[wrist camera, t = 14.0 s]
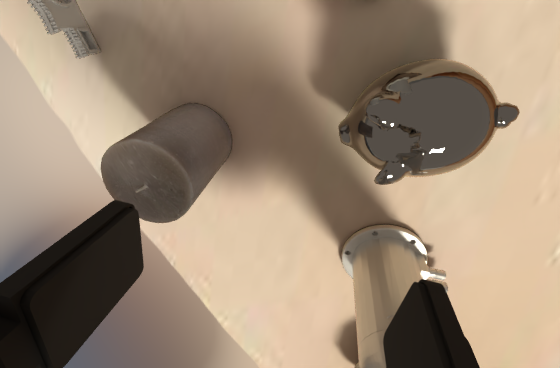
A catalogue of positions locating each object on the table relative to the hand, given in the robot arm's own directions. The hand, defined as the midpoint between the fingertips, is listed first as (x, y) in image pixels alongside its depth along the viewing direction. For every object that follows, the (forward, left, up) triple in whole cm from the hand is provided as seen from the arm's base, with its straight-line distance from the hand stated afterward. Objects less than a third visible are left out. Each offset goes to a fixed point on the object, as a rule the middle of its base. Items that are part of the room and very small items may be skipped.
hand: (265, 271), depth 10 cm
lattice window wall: (+31, -5, -29) cm, 43 cm away
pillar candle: (+15, +9, -29) cm, 34 cm away
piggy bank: (-10, 0, -29) cm, 31 cm away
